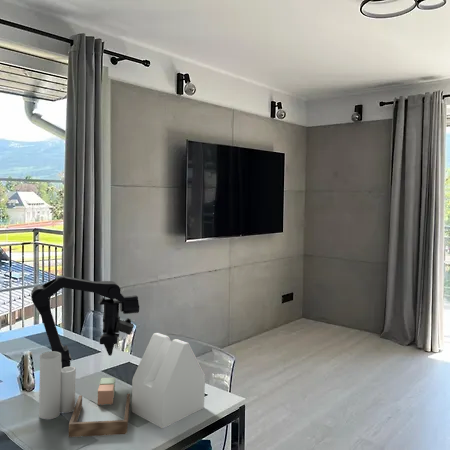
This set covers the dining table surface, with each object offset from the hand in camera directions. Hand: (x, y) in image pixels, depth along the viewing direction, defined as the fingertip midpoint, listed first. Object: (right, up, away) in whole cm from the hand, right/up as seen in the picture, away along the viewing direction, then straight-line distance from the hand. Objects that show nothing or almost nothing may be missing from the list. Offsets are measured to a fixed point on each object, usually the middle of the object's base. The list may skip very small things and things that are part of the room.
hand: (110, 354), depth 170 cm
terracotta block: (+2, -12, -15) cm, 19 cm away
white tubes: (-12, -12, -23) cm, 29 cm away
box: (+4, -13, -27) cm, 30 cm away
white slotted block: (+25, -14, -19) cm, 34 cm away
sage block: (+1, -12, -9) cm, 15 cm away
